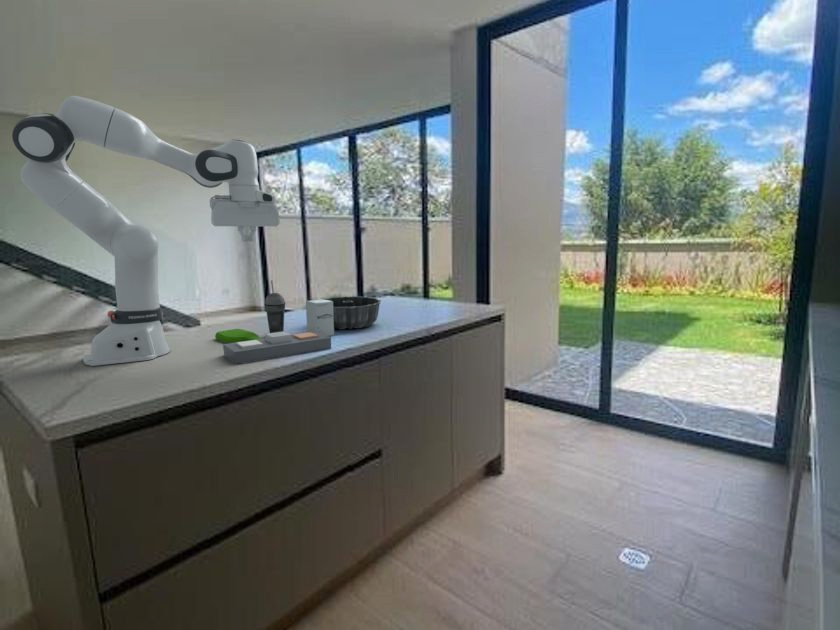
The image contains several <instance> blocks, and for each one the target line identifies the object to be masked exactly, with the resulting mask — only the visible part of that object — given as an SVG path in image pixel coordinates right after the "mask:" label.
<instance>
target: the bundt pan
mask: <svg viewBox="0 0 840 630" xmlns="http://www.w3.org/2000/svg"><path fill="white" fill-rule="evenodd" d="M323 299H324V300H329V301H333V317H334V330H336V329H337V330H345V329H349V330H352V329H361V328H368V327H369V326H371V325H373V324H375V322H376V321H377V319H378V316H379V310H380V304H381V302H382V300H381V299H378V298H376V297H369V296H338V297H337V296H335V297H334V296H333V297H328V298H321V300H323Z"/></svg>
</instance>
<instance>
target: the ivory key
mask: <svg viewBox="0 0 840 630" xmlns="http://www.w3.org/2000/svg"><path fill="white" fill-rule="evenodd" d="M236 346H238V347H240V348H241V349H244V348H251V347H257V346H263V343H261V342H259V341H257V340H251V341H244V342H237V343H236Z"/></svg>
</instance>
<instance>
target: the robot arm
mask: <svg viewBox="0 0 840 630" xmlns="http://www.w3.org/2000/svg"><path fill="white" fill-rule="evenodd" d="M11 135H12V136H11V137H12V142H13V143H14V146H15V148H16V149H17V151H18V152H19V153H20V154H22V155H23V156H24V157H26V158H27V159H28V160H27V162H25V164H24V165H22V168H21V170H20V180H21V182H22V183H23V185H24V186H26V187H27V188H28V189H29V191H31V193H33V194H34V195H35V196H36V197H37V198H38V199H39V200H40V201H41V202H43V203H44V204H45V205H47V206H48V207H49V208H50V209H51V210H53V211H55V212H56V213H57V214H58V215H60V216H61V217H63V218H64V219H65V220H67V221H68V222H69V223H71V224H72V225H73V226H75V227H76V228H77V229H78V230H80V231H81V232H82V233H84V234H85V235H86V236H87V237H89V238H90V239H91V240H93V241H94V242H95V243H97V245H99V246H100V247H101V248H103V249H104V250H105V251H107V252H108V253H109V254H110V255H111V256H113V258H114V275H115V276H114V289H115V290H114V291H115V297H116V305H117V309H116V310H115V311H114V310H108V312H107V317H109V318H110V322H111V324H109V325H107V327H105V328H104V329H103V330H101V331H100V332H99V333H98V334H97V335H95V336H94V338H93V339H92V342H91V346H90V347H91V348H90V352H89V353H87V354H85V355H83V357H82V363H83V364H84V365H87V366H92V367H93V366H96V367H97V366H104V365H112V364H123V363H133V362H141V361H142V362H143V361H150V360H153V359H155V358H158V357H159V356H163V355H166V354H168V353H170V352H171V349H170V347H169V345H168V341H167V339H166V335H165V332H164V327H163V325H164V315H163V314H164V313H163V309H162V306H161V305H160V296H159V285H158V275H159V242H158V239H157V237H156V236H155V233H153V232H152V231H151V230H150V229H149V228H147V227H145V226H142V225H139V224H138V225H137V224H134V223H133V222H132V221H131V220H130V219H129V218H128V217H126V216H125V214H123V213H122V212H121V211H120V210H119V209H117V207H116V206H115V205H114V204H113V203H112V202H111V201H110V200H108V199H107V198H106V197H105V196H103V194H101V193H100V192H99V191H97V190H96V189H94V188H93V186H91V185H89V183H87V182H86V181H84V180H83V179H82V178H81V177H80V176H78V174H76V173H75V172H73V171H72V170H71V168H70V167H69V166H68V165H67V161H68V160H69V158H70V157H71V156H70V155H71V154H72V152H73V150H74V148H75V146H76V143H77V142H86V143H90V144H94V145H96V146H98V147H101V148H104V149H107V150H110V151H112V152H116V153H119V154H123V155H128V156H132V157H137V158H142V159H145V160H150V161H153V162H156V163H159V164H162V165H164V166H167V167H170V168H171V169H175V170H177V171H179V172H182V173H184V174H186V175H188V176H189V177H190V178H191V179H192V180H193V181H194V182H195V183H197V184H199V185H200V186H201V187H204V188H209V189H211V188H216V187H219V186H221V185H222V184H223V183H228V193H229V194H228V195H226V194H224V195H220V194H215V195H214V196H212V197H210V199H209V206H210V207H209V208H211V214H210V217H211V218H210V219H211V224H212V225H213V227H237V231H238V232H239V235H240V236H241V240H242V242H254V235H255V234H256V232H257V227H278V226H279V225H280V214H279V213H280V212H279V208H278V206H277V204H276V203H275V202H276V196H275V195H274V194H270V193H268V192H264V191H263V190H260V183H259V181H258V176H259V163H258V158H257V157H258V156H257V151H256V149H255V147H254V146H253V144H251V143H249V142H246V141H244V140H239V139H230V140H228V141H227V142H226V143H223V144H221V145H219V146H216V147H213V148H209V149H205V150H201V151H200V152H199V153H197V154H196V153H193V152H192V153H191V152H189V151H187V150H185V149H182V148H180V147H177V146H175V145H173V144H170V143H168V142H166V141H164V140H162V139H161V138H160V137H158V136H157V135H156V134H155V133H154V132H153V131H152V130H151V129H150V128H149V127H148V125H146V123H145V122H143V120H141V119H139V118H137V117H136V116H134V115H133V114H131V113H128V112H126V111H125V110H122V109H120V108H117V107H115V106H112V105H109V104H106V103H105V102H104V103H103V102H102V101H97V100H94V99H91V98H87V97H83V96H78V95H71V96H68V97H66V98H65V99H64V100H63V101H62V102H61V104H60V106H59V109H58V112H57V113H56V114H53V113H46V112H45V113H43V112H42V113H35V114H30V115H28V116H26V117H24V118H21V120H19V121H17V122H16V124H14V127H13V128H12V134H11ZM245 227H249V231H250V232H249V235H247V234H246V233H245V232H244V231H245Z"/></svg>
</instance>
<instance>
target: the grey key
mask: <svg viewBox="0 0 840 630" xmlns="http://www.w3.org/2000/svg"><path fill="white" fill-rule="evenodd" d="M291 335H292V334H290V333H289V332H286V331H283V332H276V333H270V332H269V333H265V336H264V337H265V338H266V341H267V342H269V343H271V344H277V343H284V342H291V341H292V339H291Z"/></svg>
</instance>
